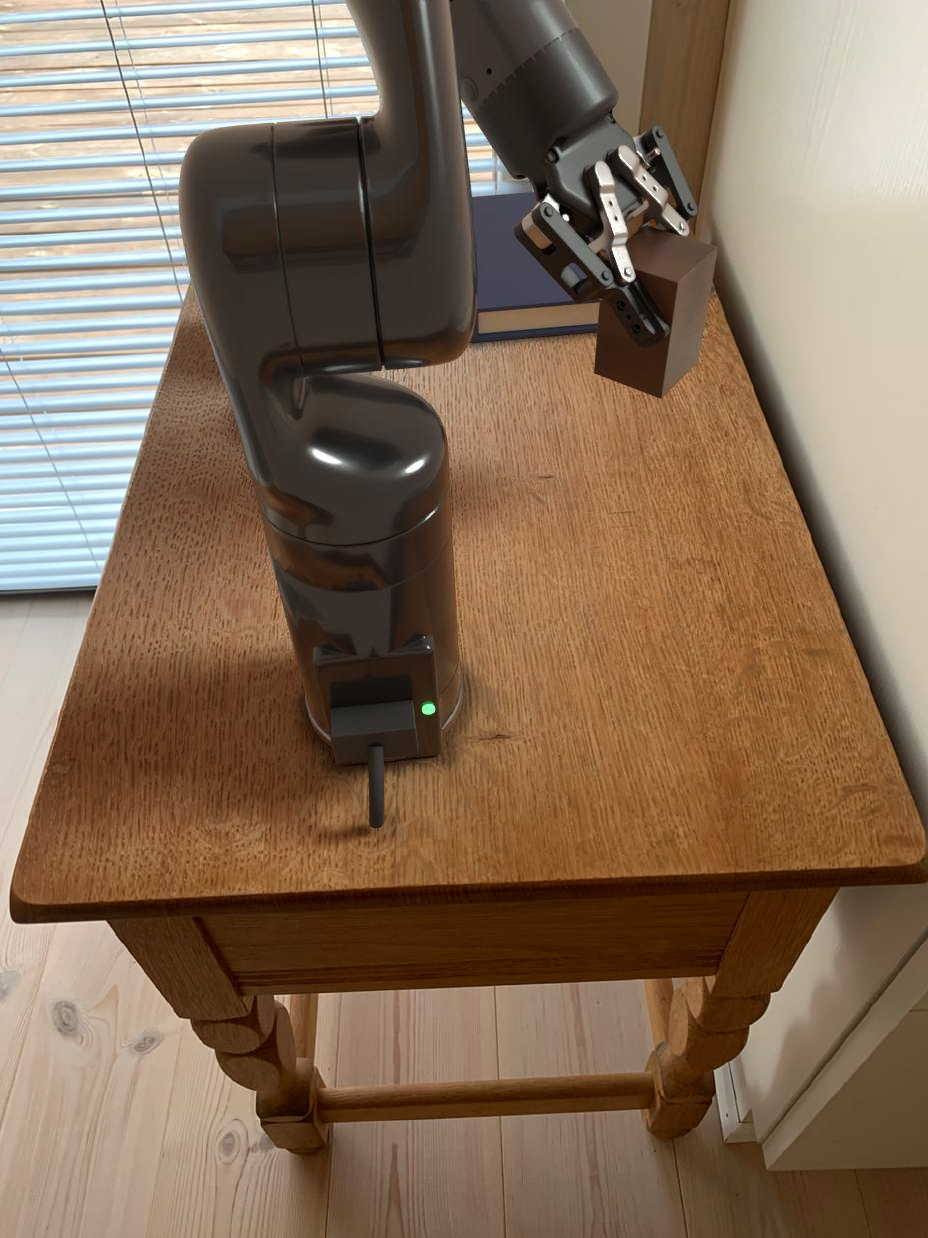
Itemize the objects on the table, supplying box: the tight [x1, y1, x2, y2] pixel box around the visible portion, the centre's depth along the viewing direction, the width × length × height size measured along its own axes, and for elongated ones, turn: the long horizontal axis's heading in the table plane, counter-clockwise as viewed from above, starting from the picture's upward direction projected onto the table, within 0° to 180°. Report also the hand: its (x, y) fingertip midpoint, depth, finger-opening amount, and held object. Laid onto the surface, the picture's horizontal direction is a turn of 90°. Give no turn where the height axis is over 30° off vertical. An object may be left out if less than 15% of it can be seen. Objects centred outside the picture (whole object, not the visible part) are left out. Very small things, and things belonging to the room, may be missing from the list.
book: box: [470, 191, 608, 344], centre depth 90 cm, size 20×15×3 cm
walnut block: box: [593, 225, 719, 400], centre depth 61 cm, size 5×5×8 cm
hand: (680, 318), depth 61 cm, fingers closed on walnut block, 5 cm apart
